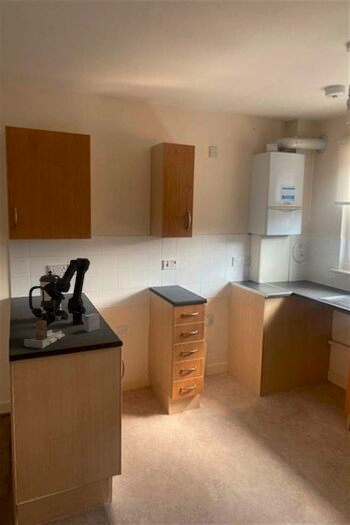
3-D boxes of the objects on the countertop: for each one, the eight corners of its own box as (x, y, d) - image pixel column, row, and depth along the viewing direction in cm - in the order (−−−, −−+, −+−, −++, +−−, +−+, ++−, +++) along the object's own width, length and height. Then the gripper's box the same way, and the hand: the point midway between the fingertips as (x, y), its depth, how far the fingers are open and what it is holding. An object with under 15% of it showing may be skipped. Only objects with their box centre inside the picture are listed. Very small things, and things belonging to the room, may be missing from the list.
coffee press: (51, 314, 245) (50, 268, 241) (69, 317, 237) (68, 270, 233) (29, 320, 230) (26, 271, 226) (47, 324, 222) (45, 273, 218)
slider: (39, 338, 193) (39, 320, 192) (47, 339, 192) (46, 320, 191) (35, 341, 189) (34, 322, 188) (42, 342, 188) (42, 323, 187)
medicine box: (95, 327, 217) (94, 312, 216) (100, 329, 214) (99, 314, 213) (83, 330, 211) (83, 315, 210) (88, 332, 208) (88, 317, 207)
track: (48, 334, 205) (47, 327, 204) (64, 335, 202) (64, 329, 202) (24, 346, 185) (23, 339, 185) (42, 348, 183) (41, 341, 182)
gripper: (32, 292, 197) (19, 318, 188) (64, 294, 193) (53, 321, 183) (42, 304, 206) (30, 329, 197) (73, 306, 201) (62, 332, 192)
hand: (43, 328), depth 192 cm, fingers closed, pressing on slider
